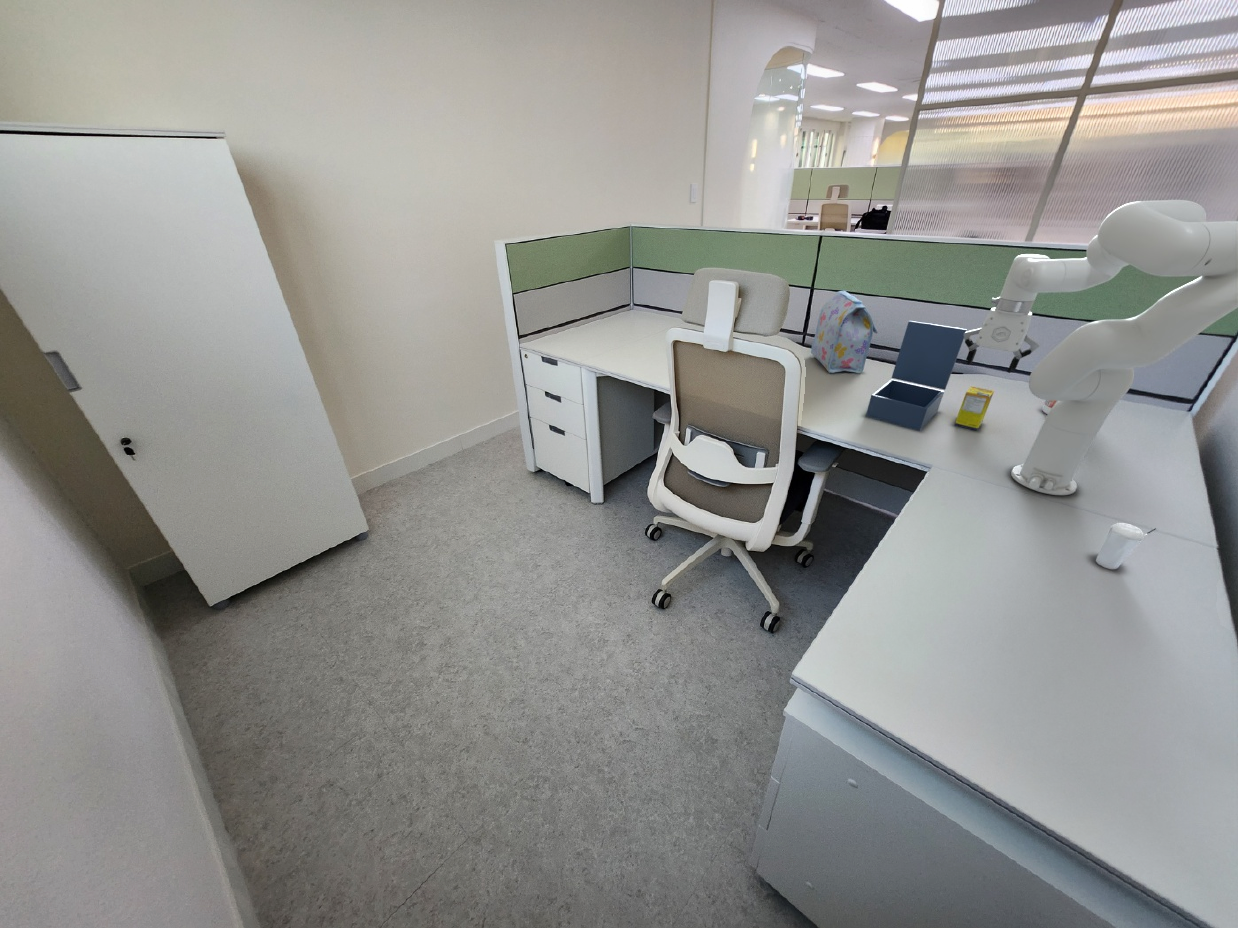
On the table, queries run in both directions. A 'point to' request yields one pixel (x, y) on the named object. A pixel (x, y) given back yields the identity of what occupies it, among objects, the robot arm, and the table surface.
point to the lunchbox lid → (928, 354)
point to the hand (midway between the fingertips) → (989, 367)
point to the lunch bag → (843, 334)
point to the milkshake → (1119, 544)
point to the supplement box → (974, 408)
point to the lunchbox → (904, 404)
